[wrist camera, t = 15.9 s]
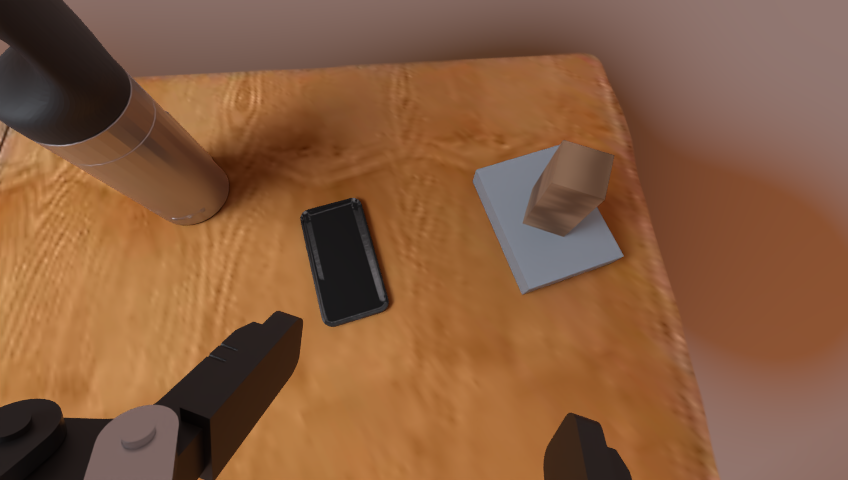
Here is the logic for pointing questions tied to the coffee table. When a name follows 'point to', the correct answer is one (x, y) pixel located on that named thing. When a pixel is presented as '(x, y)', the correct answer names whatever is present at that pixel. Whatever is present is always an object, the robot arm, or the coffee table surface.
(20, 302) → the coffee table surface
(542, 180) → the walnut block
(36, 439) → the robot arm
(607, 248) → the base board
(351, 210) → the phone
